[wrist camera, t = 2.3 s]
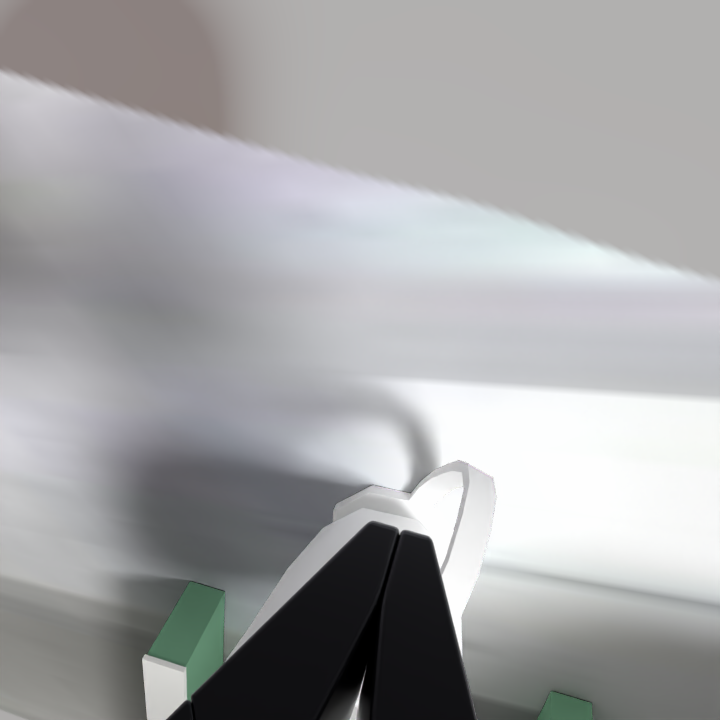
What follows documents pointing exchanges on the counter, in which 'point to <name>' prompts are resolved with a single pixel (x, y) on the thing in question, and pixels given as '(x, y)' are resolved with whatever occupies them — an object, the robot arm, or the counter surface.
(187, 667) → the pocket
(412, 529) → the cup
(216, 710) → the robot arm
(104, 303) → the counter surface
